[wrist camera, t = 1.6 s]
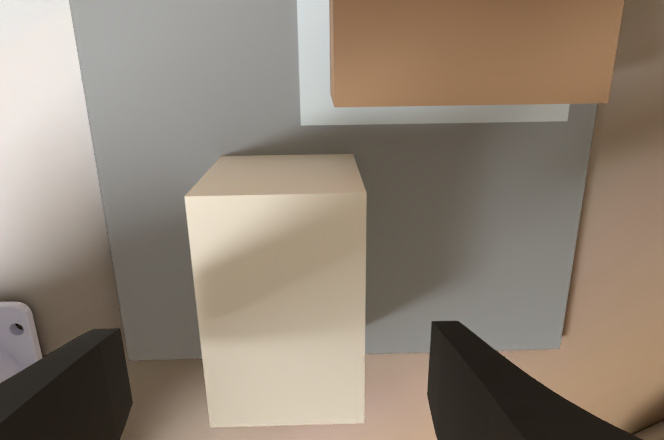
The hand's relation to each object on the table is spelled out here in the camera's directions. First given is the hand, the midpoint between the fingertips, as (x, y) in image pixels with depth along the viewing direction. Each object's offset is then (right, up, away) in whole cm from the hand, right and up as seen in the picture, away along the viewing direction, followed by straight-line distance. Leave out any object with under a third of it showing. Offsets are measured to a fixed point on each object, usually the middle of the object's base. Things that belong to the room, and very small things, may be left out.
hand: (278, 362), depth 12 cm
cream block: (0, +2, +7) cm, 7 cm away
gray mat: (+2, +7, +6) cm, 9 cm away
